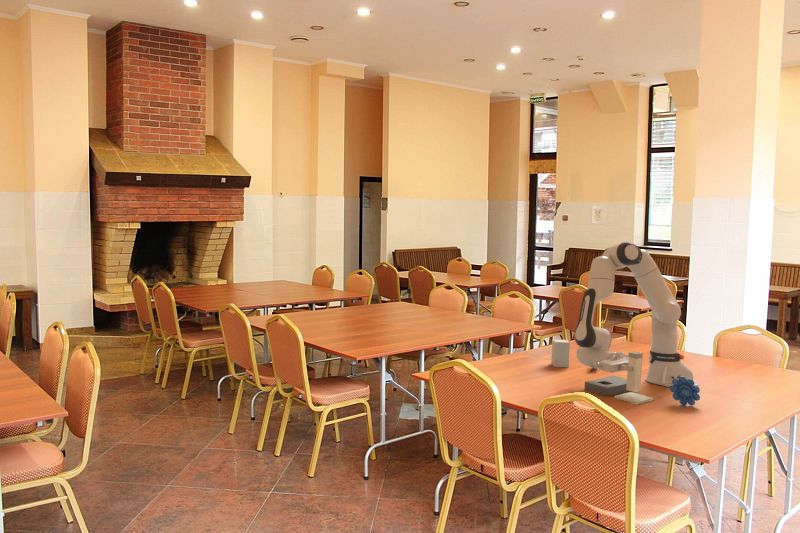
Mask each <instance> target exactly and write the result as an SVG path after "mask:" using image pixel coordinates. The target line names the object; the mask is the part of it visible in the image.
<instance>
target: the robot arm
mask: <svg viewBox="0 0 800 533" xmlns="http://www.w3.org/2000/svg"><path fill="white" fill-rule="evenodd" d="M626 267H627V268H628V269H629V270H630V271H631V273H632V275H633V277H634V279H635V281H636V283H637V285H638V286H639V288H640V290H641V292H642V294H643V296H644V297H645V300H646V301H647V303H648V305H649V307H650V308H651V341H650V344H651V345H650V350H649V355H648V360H649V367H648V371H647V375H646V378H645V381H646V382H648V383H651V384H654V385H660V386H664V387H667V388H668V387H669V388H670V386H672V385H673V384H672V380H673V379H678V380H679V377H680V376H683V377H685V378H686V380H688V379H692V380H693V381H694V383H695V384H694V386H698V387H699V382H698V381H697V380H696V379H694V373H693V371H692V369H691V368H689V367H688V366H687V365H686V364H685V363H684V362H683V361H682V360H684V359H685V355H683V354H681V353H679V352H678V321H679V320H680V318H681V316H682V310H681V309H682V308H681V306H680V304H679V303H678V301H677V299H676V297H675V296H674V294H673V292H672V291H671V289H670V288H669V285H668V284H667V282H666V280H665V278H664V277H663V275H662V272H661V271H660V269H659V267H658V265H657V263H656V262H655V260H654V258H653V257H652V255H650V254H649V252H648V251H647V250H645V249H642V248H641V249H640V247H638V245H637V244H635V243H634V242H631V241H624V242H621V243H617V244H614V245H612V246H610V247H607V248H605V249H604V250H603V251H602V252H601V254H600V255H599V256H596V257H595V258H593V259H592V261H591V265H590V269H589V274H588V275H589V276H588V284H587V285H588V286H587V287H586V288H587V289H586V290H585V291H584V293H583V295H582V300H581V305H580V309H579V315H578V320H577V324H576V327H575V330H574V333H573V338H574V341H575V343H576V345H577V346H579V347H578V348H577V349H576V352H575V353H576V356H575V357H576V359H577V360H578V362H579V363H580V364H582V365H584V366H587V367H590V368H591V369H592V368H595V369H596V368H597V370H599V371H600V370H601V371H603V372H607V373H619V372H622V371H625V372H627V371H633V369H634V368H633V367H631V366H628V355H629V354H626V353H625V352H621V351H618V352H617V351H611V350H610V348H611V344H612V340H613V338H612V333H611V332H610V331H609V329H607V328H604V327H600V326H594V322H593V321H594V315H595V310H596V307H597V305H598V304H599V303H600V302H602V301H606V300H608V299H609V298H610V297H611V296H612V295H613V293H614V291H615V280H616V279H615V274H616V271H617V270H621V269H624V268H626Z"/></svg>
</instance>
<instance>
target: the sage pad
mask: <svg viewBox="0 0 800 533" xmlns="http://www.w3.org/2000/svg"><path fill="white" fill-rule="evenodd" d="M616 398H617V400H619V399H621V400H620V401H623V400H624V401H623V402H626V401H627V402H626V403H629V402H630V404H634V405H642V404H645V403H650V402H653V401H654V397H650V396H647V395H643V394H640V393H637V392H632V391H627V392H623V393H619V394H614V399H616Z"/></svg>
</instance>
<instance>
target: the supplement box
mask: <svg viewBox="0 0 800 533" xmlns="http://www.w3.org/2000/svg"><path fill="white" fill-rule="evenodd" d="M570 344H571V343H570V342H569V340H567V339H552V340H551V362H550V364H551V365H552V366H553V367H554V368H569V367H570V366H569V365H570V346H571V345H570Z"/></svg>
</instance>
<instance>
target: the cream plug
mask: <svg viewBox="0 0 800 533" xmlns="http://www.w3.org/2000/svg"><path fill="white" fill-rule="evenodd" d="M643 353H644V352H638V351H628V354H627V355H628V366H631V367H633V368H634V369H633V371H626V372H627V373H626V375H627V376H626V379H627V387H626V390H629V391H628V392H633V393H637V392H641V388H642V372H643V358H644V357H643V356H644V355H643Z"/></svg>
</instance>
